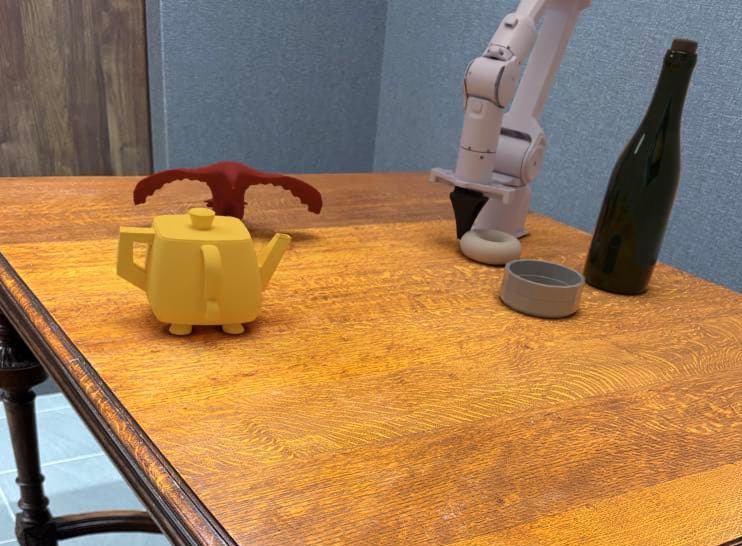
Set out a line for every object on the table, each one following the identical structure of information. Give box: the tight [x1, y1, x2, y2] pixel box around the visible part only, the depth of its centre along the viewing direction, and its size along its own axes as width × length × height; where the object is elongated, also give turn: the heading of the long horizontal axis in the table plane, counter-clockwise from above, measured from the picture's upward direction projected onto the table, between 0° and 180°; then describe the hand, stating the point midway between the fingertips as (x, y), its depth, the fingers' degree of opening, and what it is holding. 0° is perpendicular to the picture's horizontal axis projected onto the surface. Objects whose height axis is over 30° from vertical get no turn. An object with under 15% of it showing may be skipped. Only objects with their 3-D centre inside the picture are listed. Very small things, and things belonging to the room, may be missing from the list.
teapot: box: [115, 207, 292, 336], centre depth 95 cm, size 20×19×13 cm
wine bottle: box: [581, 37, 699, 295], centre depth 117 cm, size 10×10×33 cm
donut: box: [459, 229, 523, 266], centre depth 130 cm, size 10×4×10 cm
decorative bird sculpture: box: [132, 160, 324, 221], centre depth 124 cm, size 28×9×15 cm
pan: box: [498, 258, 586, 319], centre depth 114 cm, size 11×11×4 cm
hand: (462, 238), depth 132 cm, fingers closed
